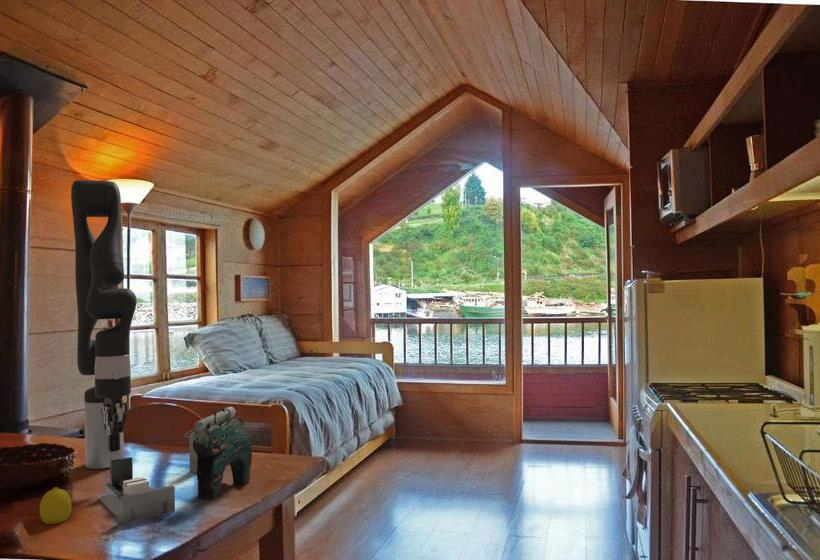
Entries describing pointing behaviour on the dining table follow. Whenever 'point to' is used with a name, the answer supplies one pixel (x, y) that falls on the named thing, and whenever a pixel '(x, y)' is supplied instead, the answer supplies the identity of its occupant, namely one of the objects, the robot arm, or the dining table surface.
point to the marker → (135, 486)
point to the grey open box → (139, 503)
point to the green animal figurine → (221, 455)
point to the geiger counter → (219, 418)
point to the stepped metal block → (120, 472)
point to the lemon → (55, 506)
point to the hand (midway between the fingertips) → (114, 450)
